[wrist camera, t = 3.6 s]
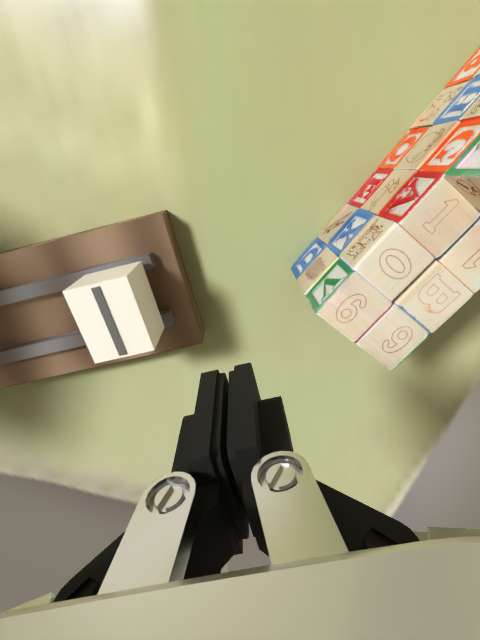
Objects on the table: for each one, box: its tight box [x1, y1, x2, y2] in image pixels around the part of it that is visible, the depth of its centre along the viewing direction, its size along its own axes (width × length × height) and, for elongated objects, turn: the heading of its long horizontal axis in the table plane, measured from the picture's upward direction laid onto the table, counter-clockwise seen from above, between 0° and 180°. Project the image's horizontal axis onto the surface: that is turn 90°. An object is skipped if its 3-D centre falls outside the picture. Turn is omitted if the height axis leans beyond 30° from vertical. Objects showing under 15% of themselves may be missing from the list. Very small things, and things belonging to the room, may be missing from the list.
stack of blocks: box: [291, 47, 480, 370], centre depth 20 cm, size 21×6×12 cm, turn 142°
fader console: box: [0, 210, 204, 388], centre depth 28 cm, size 28×10×3 cm, turn 104°
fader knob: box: [62, 261, 164, 364], centre depth 25 cm, size 4×5×5 cm
